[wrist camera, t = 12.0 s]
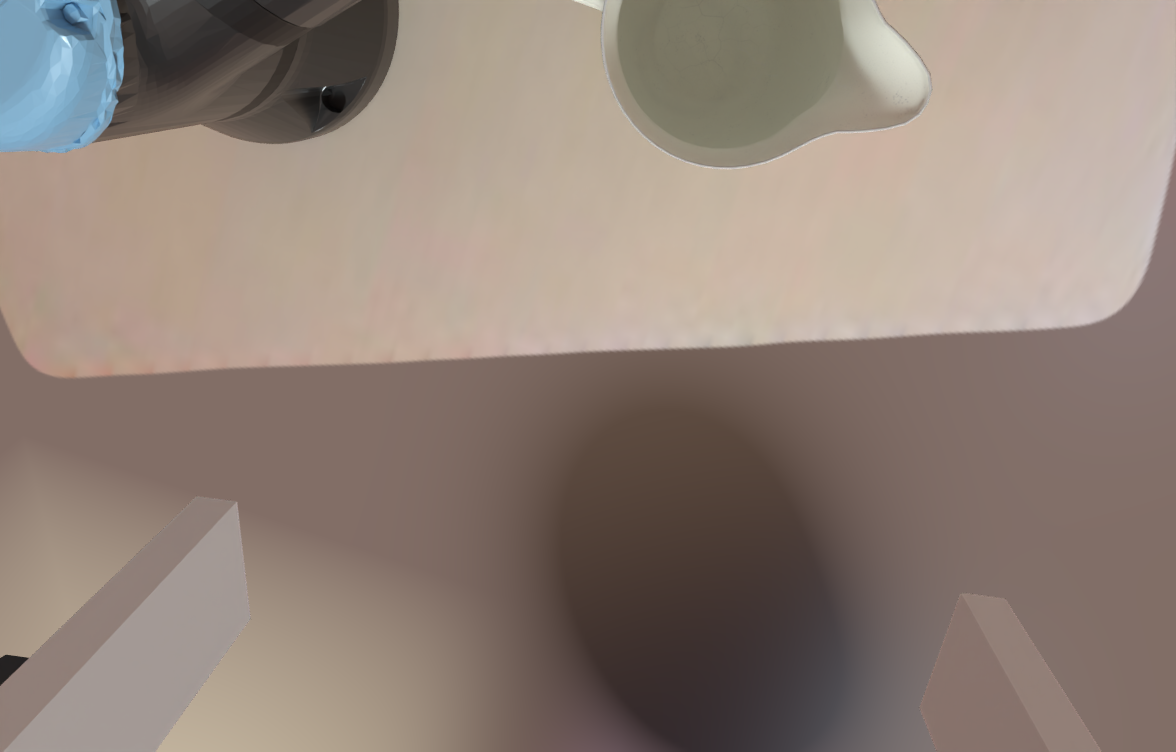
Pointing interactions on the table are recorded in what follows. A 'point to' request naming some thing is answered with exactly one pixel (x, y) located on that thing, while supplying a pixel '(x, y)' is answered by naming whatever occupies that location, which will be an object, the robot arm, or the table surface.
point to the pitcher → (756, 74)
